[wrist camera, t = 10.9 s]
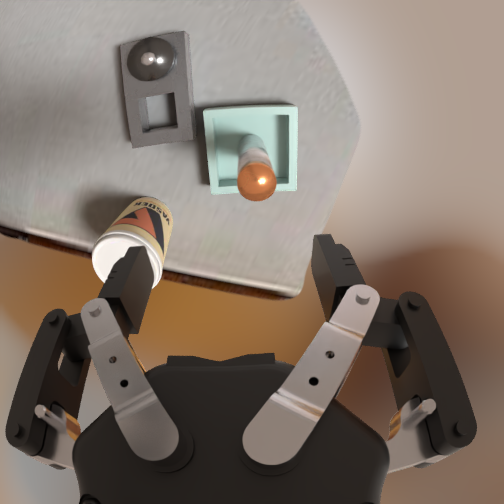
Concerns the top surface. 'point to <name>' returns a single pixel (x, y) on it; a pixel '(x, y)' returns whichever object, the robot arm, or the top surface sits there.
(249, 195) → the pin
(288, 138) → the tray
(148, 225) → the coffee cup
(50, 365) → the robot arm
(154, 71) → the block
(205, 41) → the top surface
